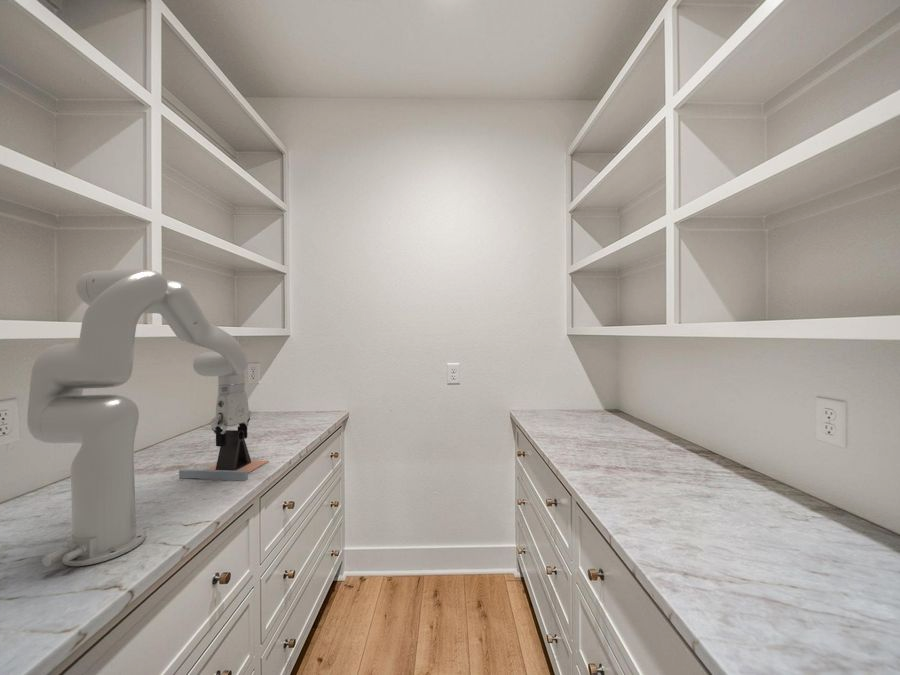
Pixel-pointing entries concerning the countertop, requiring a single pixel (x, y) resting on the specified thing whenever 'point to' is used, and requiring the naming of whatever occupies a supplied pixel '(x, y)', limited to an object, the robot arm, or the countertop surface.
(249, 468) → the mat
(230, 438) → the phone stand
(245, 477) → the acrylic wall
